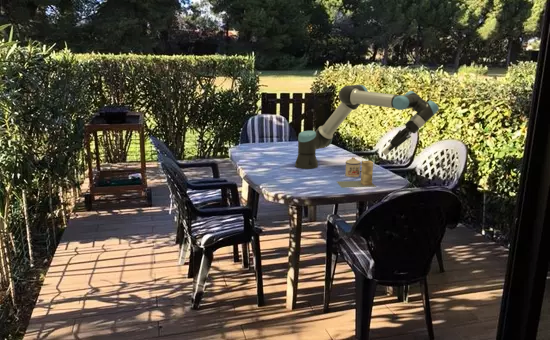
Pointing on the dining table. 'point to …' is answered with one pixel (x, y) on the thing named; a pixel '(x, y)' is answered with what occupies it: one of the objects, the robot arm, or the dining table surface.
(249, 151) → the dining table surface
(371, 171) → the birch block
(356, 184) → the mat
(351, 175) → the teacup with lid
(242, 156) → the dining table surface
